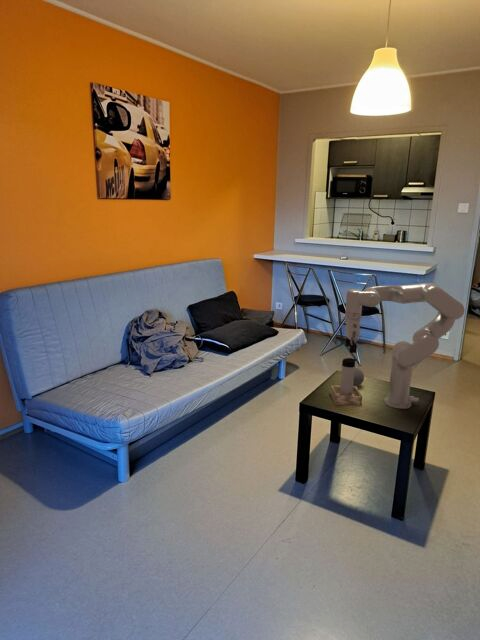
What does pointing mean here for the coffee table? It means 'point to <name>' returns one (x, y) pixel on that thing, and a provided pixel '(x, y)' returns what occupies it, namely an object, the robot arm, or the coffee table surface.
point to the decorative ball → (358, 377)
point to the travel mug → (347, 377)
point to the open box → (346, 397)
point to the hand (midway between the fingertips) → (350, 349)
